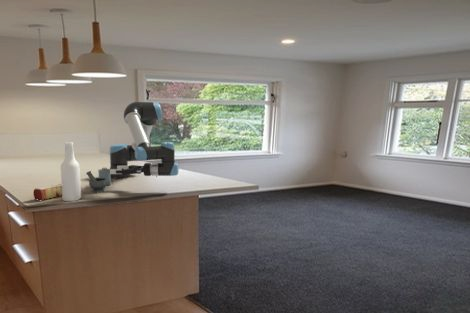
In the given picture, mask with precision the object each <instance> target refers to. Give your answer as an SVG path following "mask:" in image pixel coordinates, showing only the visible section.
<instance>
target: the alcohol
mask: <svg viewBox="0 0 470 313" xmlns="http://www.w3.org/2000/svg"><path fill="white" fill-rule="evenodd" d="M74 151H75V149H74V141H73V142H72V141H68V142H67V141H66V142H64V158H63V159H64V160H63V161H62V163H61V164H60V178H61V180H60V181H61V184H62V196H61V197H62V198H61V199H62V200H63V201H64V202H68V201H70V202H76V201H80V200H81V198H82V190H81V189H82V186H81V169H80V168H81V167H80V163H79V162H78V161H77V159H76V158H75V156H76V155H75V152H74ZM79 199H80V200H79Z"/></svg>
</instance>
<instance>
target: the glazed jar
mask: <svg viewBox="0 0 470 313" xmlns="http://www.w3.org/2000/svg"><path fill="white" fill-rule="evenodd" d="M98 178H105V179H107V185H106V186H107V187H111V186H112V178H111V174H110V168H108V167H102V168H100V169H98Z"/></svg>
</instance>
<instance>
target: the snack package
mask: <svg viewBox="0 0 470 313" xmlns="http://www.w3.org/2000/svg"><path fill="white" fill-rule="evenodd" d="M58 196H59V197H62V183H59V184H58V183H57V184H53V185H48V186H43V187H42V186H41V187H37V188H34V189H33V197H34V200H35V199H38V200H43V201H45V200H44V199H47V200H50V199H49V198H51V199H53V197H55V198H59V197H58Z"/></svg>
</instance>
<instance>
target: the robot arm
mask: <svg viewBox="0 0 470 313" xmlns="http://www.w3.org/2000/svg"><path fill="white" fill-rule="evenodd" d="M123 111H124V112H123V118H124V122H125V123H126V124H127V125H128V127H129V130H130V131H129V132H130V133H131V136H132V139H133V141H132V142H131V144H127V143H125V142H124V143H123V142H122V143H116V144H113V145H111V146H110V147H109V164H110V166H109V169H110V174H111V179H125V178H129V177H131V175H136V174H138V175H139V174H142V173H143V175H144V176H145V177H151V176H153V177H155V178H157V177H171V176H173V177H174V176H175V177H176V176H178V175H179V170H180V169H179V168H180V167H179V163H177V162H176V161H175V157H176V155H175V144H174V142H172V141H171V142H170V141H169V142H168V141H164V142H161V143H160V145H153V146H151V144H150V141H149V138H150V135H151V133H152V130H153V126H155V125H156V123H157V122H158V121H161V120H162V117H163V111H162V106H161V105H160V103H159V102H154V101H133V102H131V103H129V104H128V105H127V106H126V107H125V109H124V110H123ZM151 160H160V161H161V162H152V163H151V162H145V163H144V164H143V165H138V164H137V165H135V164H130V165H128V164H129V163H128V162H141V161H142V162H144V161H151Z"/></svg>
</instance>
